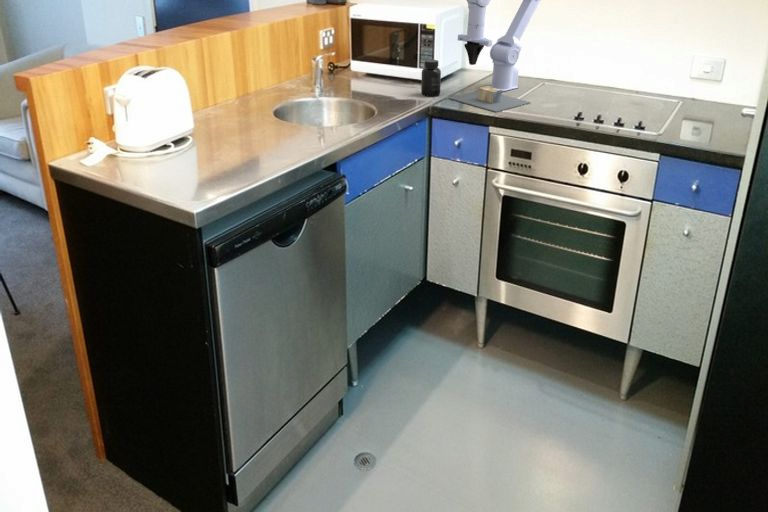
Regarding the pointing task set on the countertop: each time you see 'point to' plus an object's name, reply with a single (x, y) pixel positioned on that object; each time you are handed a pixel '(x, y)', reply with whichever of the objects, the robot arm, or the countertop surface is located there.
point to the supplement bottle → (431, 79)
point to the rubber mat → (496, 107)
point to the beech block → (489, 94)
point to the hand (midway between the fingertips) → (472, 64)
